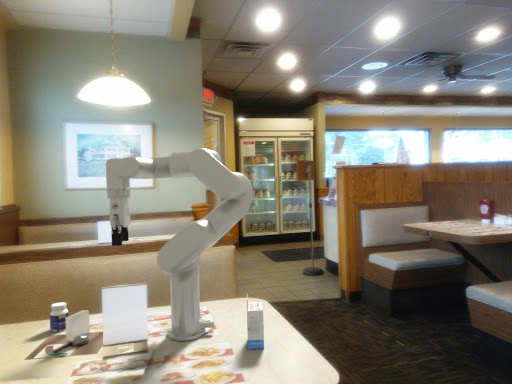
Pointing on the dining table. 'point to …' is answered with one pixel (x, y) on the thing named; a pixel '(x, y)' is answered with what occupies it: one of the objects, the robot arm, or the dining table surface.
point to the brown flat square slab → (60, 340)
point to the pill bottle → (58, 317)
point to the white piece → (76, 330)
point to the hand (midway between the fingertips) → (120, 243)
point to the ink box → (255, 325)
